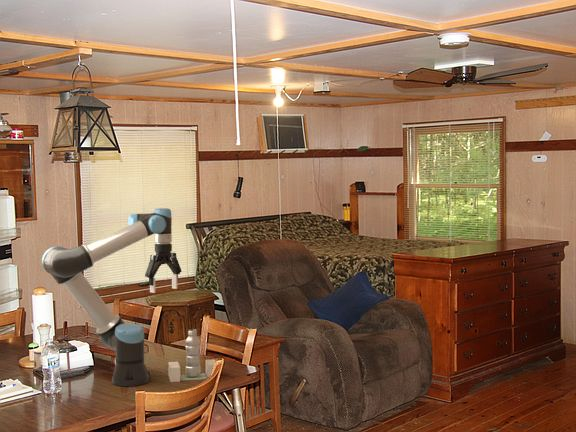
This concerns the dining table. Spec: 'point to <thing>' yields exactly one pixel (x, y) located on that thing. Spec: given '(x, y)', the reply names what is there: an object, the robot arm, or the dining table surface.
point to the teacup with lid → (37, 357)
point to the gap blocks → (175, 370)
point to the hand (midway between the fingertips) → (163, 290)
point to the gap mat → (185, 377)
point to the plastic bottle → (192, 354)
